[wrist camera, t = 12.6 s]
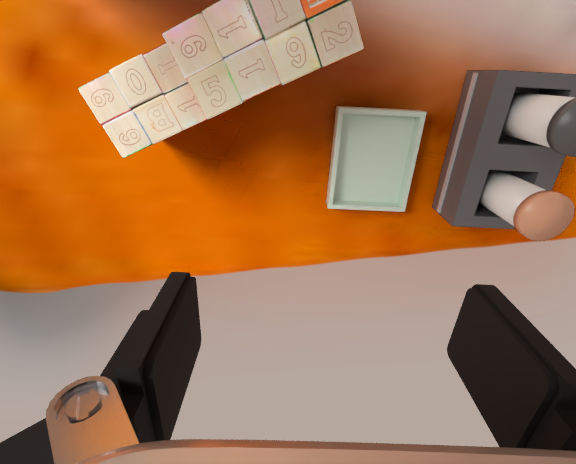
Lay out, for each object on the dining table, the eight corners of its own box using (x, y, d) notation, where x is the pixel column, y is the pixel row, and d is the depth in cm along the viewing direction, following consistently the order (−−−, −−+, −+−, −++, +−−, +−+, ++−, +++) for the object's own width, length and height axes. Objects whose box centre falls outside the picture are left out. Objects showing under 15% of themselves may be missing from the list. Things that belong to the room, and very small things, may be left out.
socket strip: (465, 70, 33) (496, 69, 28) (553, 75, 34) (599, 75, 29) (430, 207, 40) (450, 226, 35) (504, 210, 40) (534, 229, 35)
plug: (470, 162, 36) (532, 192, 27) (509, 165, 36) (583, 195, 27) (459, 200, 38) (512, 239, 29) (496, 202, 38) (561, 242, 29)
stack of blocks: (159, 139, 37) (103, 168, 26) (126, 82, 34) (48, 87, 23) (340, 57, 33) (367, 49, 22) (319, -14, 30) (336, -63, 19)
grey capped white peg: (492, 88, 33) (570, 94, 24) (536, 91, 33) (629, 97, 24) (479, 133, 35) (546, 155, 26) (520, 136, 35) (601, 158, 26)
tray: (336, 105, 35) (338, 107, 33) (419, 110, 35) (426, 111, 33) (326, 202, 40) (327, 208, 38) (399, 205, 40) (404, 211, 38)
